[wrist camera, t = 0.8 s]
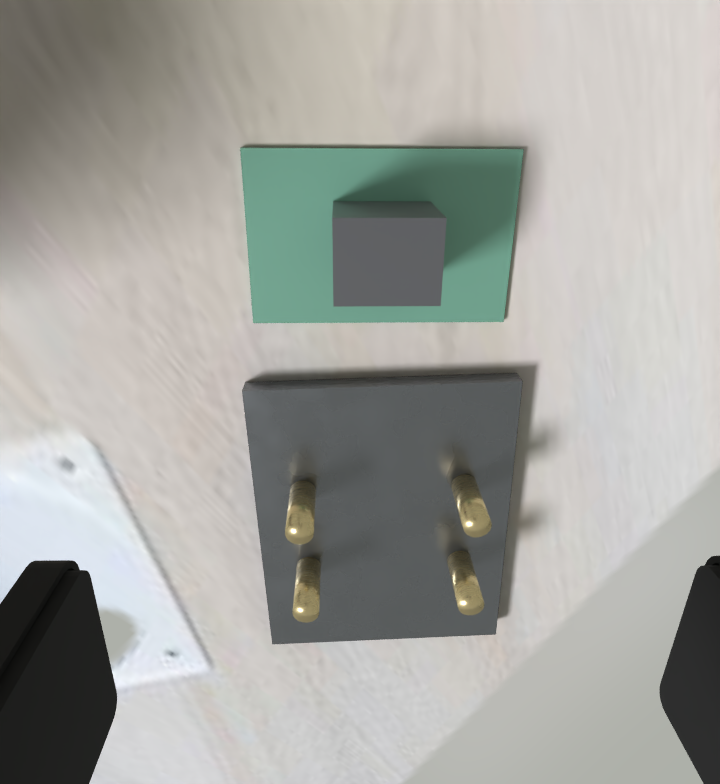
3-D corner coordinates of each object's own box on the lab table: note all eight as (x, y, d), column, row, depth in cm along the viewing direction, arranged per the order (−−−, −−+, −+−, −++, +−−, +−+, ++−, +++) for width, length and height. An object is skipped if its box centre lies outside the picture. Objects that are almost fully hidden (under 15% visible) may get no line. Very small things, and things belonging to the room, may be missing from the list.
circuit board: (255, 318, 34) (239, 357, 29) (242, 146, 30) (222, 155, 25) (500, 317, 34) (529, 355, 29) (519, 148, 30) (556, 157, 25)
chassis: (245, 382, 35) (231, 425, 30) (516, 373, 35) (544, 414, 31) (274, 630, 44) (266, 694, 39) (491, 621, 44) (510, 683, 39)
